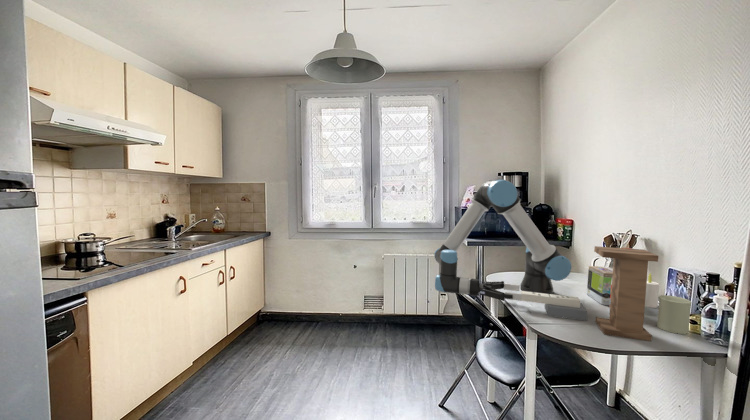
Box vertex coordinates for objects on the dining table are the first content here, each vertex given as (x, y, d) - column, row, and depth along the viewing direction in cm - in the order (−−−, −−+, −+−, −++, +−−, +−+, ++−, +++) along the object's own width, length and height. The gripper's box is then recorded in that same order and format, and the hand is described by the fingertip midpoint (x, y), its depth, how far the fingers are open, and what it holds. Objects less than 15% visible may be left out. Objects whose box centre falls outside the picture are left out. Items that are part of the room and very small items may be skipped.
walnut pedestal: (589, 321, 134) (594, 246, 132) (638, 327, 129) (644, 249, 127) (597, 333, 123) (603, 251, 121) (651, 341, 118) (658, 255, 115)
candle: (659, 305, 154) (662, 273, 152) (655, 308, 150) (658, 275, 148) (642, 301, 159) (644, 270, 157) (637, 304, 154) (640, 272, 153)
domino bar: (520, 297, 149) (520, 290, 149) (577, 304, 142) (578, 297, 142) (521, 300, 145) (521, 293, 145) (580, 307, 138) (580, 300, 137)
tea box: (625, 306, 152) (628, 274, 151) (601, 305, 153) (603, 272, 152) (608, 295, 167) (610, 266, 165) (585, 294, 168) (587, 265, 167)
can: (650, 323, 133) (652, 293, 132) (672, 323, 133) (674, 293, 133) (672, 334, 124) (675, 302, 123) (696, 334, 124) (698, 302, 123)
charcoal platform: (544, 307, 149) (544, 298, 149) (581, 312, 144) (581, 302, 144) (547, 315, 140) (547, 306, 139) (586, 320, 135) (587, 311, 134)
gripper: (471, 287, 166) (518, 292, 159) (467, 303, 143) (521, 310, 136) (472, 272, 166) (519, 276, 158) (467, 286, 142) (522, 292, 135)
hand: (520, 292), depth 147 cm, fingers open, 13 cm apart
